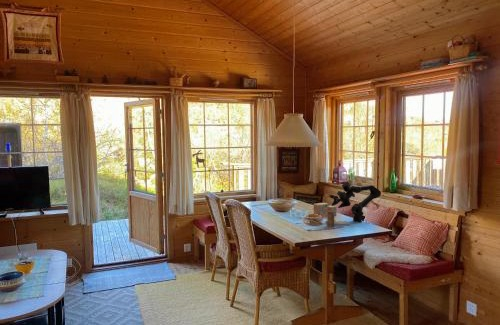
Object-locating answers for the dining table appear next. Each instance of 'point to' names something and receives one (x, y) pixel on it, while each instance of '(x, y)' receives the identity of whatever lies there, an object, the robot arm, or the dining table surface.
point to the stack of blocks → (323, 209)
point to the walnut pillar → (330, 219)
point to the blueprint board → (340, 222)
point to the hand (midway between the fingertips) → (334, 206)
